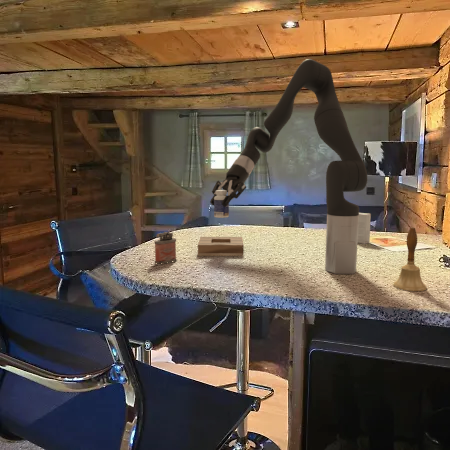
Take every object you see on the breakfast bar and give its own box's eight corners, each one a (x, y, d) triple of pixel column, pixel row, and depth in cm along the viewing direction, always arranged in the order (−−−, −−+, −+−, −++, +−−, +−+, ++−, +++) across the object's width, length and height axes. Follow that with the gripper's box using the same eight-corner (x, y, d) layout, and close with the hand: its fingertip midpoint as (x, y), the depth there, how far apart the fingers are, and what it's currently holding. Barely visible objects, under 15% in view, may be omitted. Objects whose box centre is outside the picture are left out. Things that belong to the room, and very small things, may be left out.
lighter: (172, 259, 145) (171, 230, 144) (178, 261, 143) (178, 231, 141) (152, 263, 140) (151, 233, 138) (158, 265, 137) (158, 234, 136)
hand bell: (393, 289, 112) (396, 229, 109) (392, 281, 119) (396, 224, 117) (427, 293, 109) (432, 231, 106) (425, 284, 117) (429, 226, 114)
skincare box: (369, 242, 175) (371, 213, 173) (365, 244, 172) (366, 214, 170) (355, 240, 179) (357, 212, 177) (351, 242, 176) (352, 213, 174)
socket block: (243, 256, 150) (243, 245, 149) (197, 256, 150) (197, 244, 149) (241, 247, 166) (242, 236, 165) (200, 246, 166) (200, 236, 165)
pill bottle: (227, 218, 153) (227, 191, 151) (212, 217, 154) (212, 190, 153) (230, 216, 158) (230, 189, 157) (216, 215, 159) (215, 189, 158)
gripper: (222, 163, 163) (198, 196, 157) (250, 163, 153) (226, 199, 147) (231, 176, 168) (209, 209, 161) (259, 177, 158) (237, 213, 151)
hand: (217, 204), depth 154 cm, fingers closed on pill bottle, 5 cm apart
